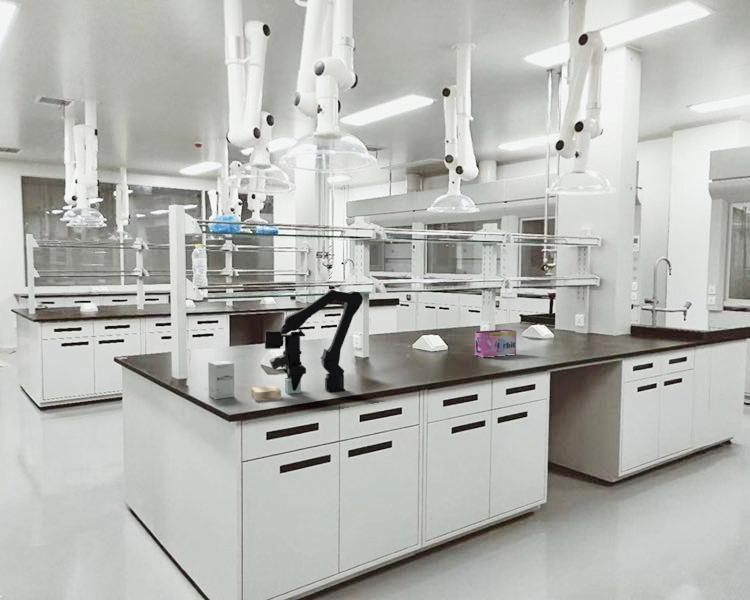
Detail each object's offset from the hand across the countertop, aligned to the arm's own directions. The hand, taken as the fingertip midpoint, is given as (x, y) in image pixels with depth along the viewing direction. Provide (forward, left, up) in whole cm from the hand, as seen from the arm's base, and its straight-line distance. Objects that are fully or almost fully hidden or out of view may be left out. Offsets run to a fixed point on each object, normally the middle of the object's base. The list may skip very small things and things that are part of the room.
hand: (292, 389), depth 210 cm
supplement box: (+26, -2, -1) cm, 26 cm away
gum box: (-121, -51, -2) cm, 131 cm away
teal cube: (0, 0, -1) cm, 1 cm away
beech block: (+11, +5, -2) cm, 12 cm away
